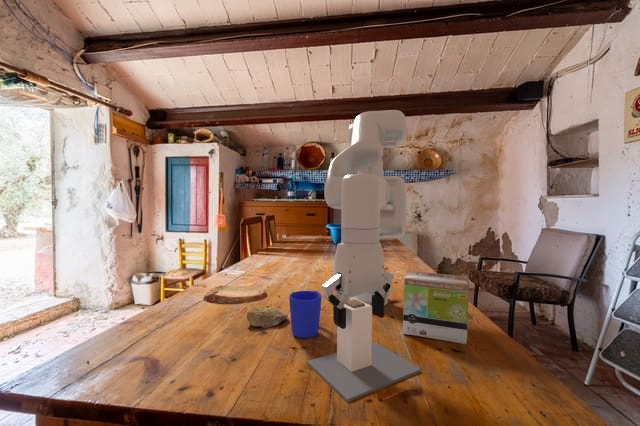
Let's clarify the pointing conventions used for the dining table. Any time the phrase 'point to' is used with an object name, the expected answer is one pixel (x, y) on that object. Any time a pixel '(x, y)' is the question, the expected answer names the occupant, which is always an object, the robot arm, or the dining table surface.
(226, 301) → the wood slice
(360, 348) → the block
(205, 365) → the dining table surface
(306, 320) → the mug
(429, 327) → the tea box
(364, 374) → the mat
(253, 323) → the rock
